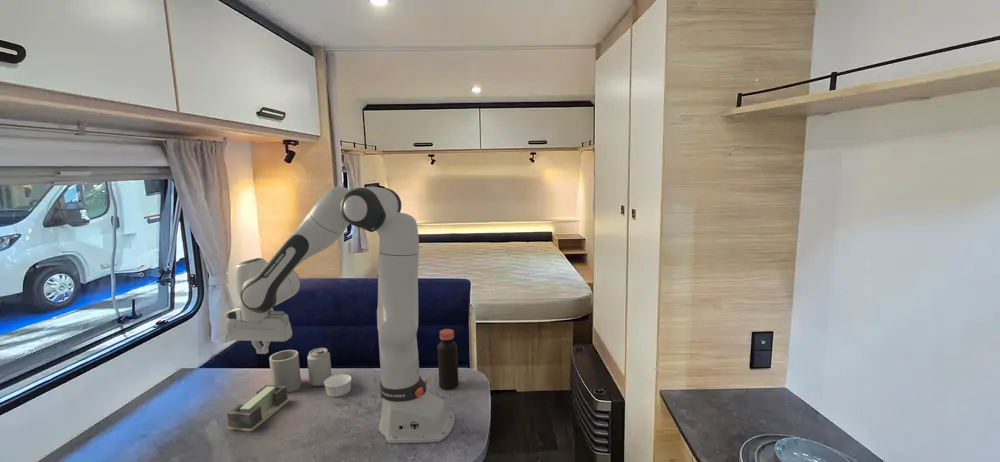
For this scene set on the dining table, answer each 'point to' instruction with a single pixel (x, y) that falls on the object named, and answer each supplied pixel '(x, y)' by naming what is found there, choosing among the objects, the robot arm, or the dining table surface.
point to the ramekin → (338, 385)
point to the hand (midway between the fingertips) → (262, 353)
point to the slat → (261, 400)
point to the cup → (285, 369)
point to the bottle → (447, 360)
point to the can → (319, 366)
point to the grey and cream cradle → (256, 411)
